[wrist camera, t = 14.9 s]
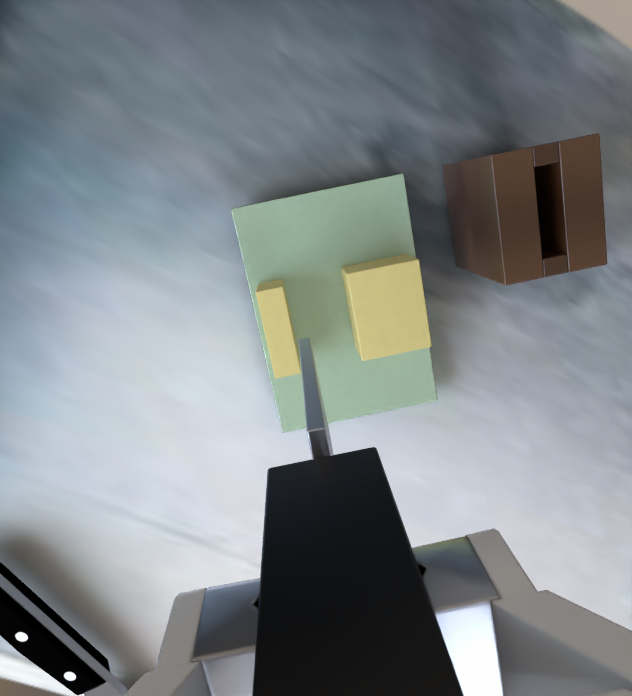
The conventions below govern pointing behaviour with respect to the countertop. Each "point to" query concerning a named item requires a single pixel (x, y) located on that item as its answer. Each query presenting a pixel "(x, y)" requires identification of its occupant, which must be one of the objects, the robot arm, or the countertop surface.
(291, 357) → the butter slice
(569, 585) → the countertop surface
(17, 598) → the steak knife
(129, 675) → the countertop surface
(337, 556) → the knife
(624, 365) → the countertop surface
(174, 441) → the countertop surface
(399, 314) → the butter block
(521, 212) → the knife block
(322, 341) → the butter dish
